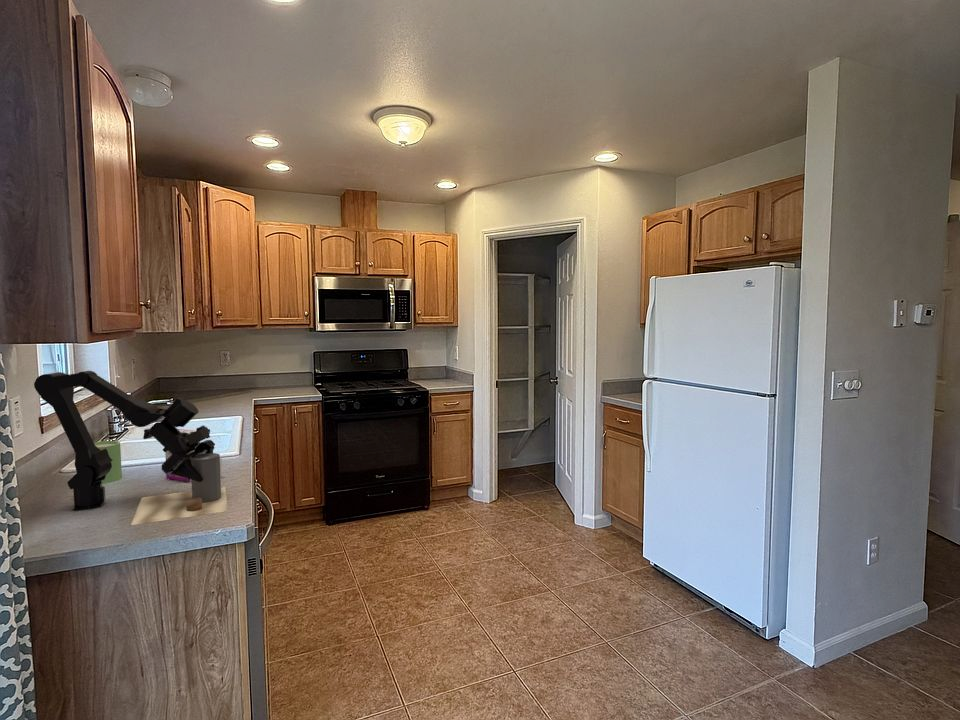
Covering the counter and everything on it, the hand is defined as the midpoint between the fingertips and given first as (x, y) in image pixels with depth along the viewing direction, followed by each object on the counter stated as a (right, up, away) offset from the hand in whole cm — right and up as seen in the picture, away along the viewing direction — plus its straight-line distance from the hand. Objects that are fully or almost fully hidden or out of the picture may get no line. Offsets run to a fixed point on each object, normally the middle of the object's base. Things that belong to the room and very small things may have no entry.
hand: (210, 476), depth 153 cm
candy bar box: (-21, -6, +23) cm, 32 cm away
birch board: (-6, -8, -4) cm, 11 cm away
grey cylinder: (-1, -7, +1) cm, 7 cm away
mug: (-48, -6, +22) cm, 53 cm away
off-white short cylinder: (-11, -6, +22) cm, 26 cm away
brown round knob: (0, -7, -8) cm, 11 cm away
